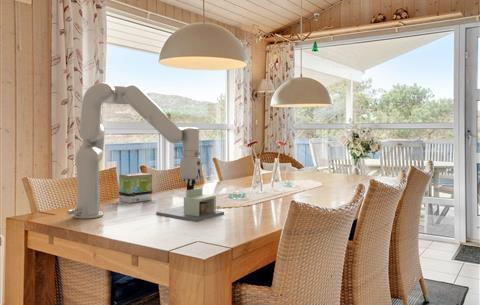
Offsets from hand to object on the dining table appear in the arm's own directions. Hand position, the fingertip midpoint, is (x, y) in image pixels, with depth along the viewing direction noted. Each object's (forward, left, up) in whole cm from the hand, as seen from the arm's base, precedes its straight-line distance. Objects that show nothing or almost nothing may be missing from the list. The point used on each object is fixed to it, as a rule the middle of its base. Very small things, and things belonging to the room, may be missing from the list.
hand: (190, 193), depth 191 cm
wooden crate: (0, -6, -8) cm, 11 cm away
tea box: (+9, +47, -10) cm, 49 cm away
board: (0, 0, -10) cm, 10 cm away
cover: (0, -6, -8) cm, 10 cm away
